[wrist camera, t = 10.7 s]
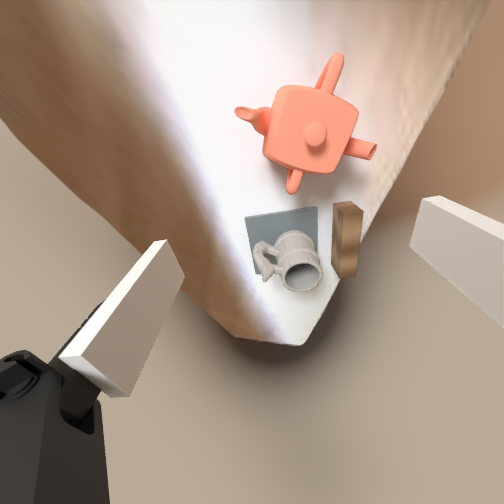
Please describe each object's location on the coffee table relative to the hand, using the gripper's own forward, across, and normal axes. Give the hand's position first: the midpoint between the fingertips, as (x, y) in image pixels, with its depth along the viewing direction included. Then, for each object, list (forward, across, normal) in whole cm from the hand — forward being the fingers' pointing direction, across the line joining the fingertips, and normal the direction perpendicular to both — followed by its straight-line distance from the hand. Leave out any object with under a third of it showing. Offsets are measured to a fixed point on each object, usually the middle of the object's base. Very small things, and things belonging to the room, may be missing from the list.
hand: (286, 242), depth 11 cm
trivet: (+25, 0, -16) cm, 30 cm away
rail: (+26, +12, -16) cm, 32 cm away
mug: (+25, 0, -16) cm, 29 cm away
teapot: (+26, +5, +3) cm, 27 cm away
